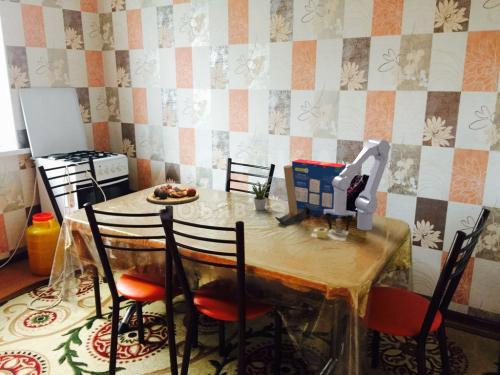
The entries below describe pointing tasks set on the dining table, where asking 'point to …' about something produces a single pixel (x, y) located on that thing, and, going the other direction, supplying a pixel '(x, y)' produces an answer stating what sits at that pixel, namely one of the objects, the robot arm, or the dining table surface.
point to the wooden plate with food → (172, 195)
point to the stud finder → (322, 232)
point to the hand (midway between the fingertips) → (338, 229)
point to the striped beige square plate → (332, 234)
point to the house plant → (260, 196)
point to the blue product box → (315, 185)
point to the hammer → (292, 200)
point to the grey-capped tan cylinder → (338, 226)
